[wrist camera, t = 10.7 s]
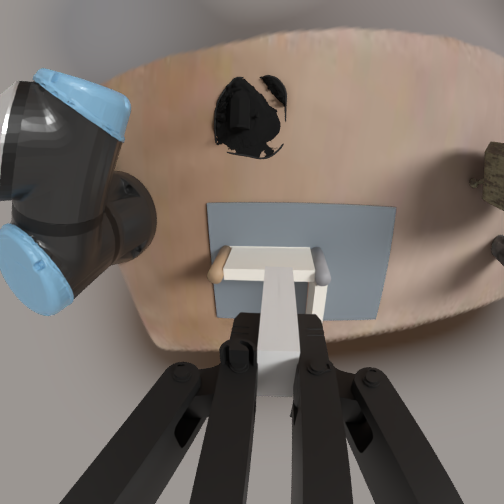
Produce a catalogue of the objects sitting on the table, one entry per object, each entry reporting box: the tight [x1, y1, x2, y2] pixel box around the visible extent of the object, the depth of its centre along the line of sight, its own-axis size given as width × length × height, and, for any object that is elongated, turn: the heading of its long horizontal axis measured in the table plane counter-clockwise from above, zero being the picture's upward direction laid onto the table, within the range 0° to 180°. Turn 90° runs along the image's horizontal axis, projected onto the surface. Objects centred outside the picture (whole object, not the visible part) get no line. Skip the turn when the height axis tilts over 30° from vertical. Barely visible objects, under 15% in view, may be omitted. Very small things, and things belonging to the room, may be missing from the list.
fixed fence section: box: [207, 245, 331, 286], centre depth 38 cm, size 16×2×9 cm, turn 91°
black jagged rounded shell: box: [214, 75, 287, 159], centre depth 33 cm, size 12×10×5 cm
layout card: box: [207, 202, 396, 320], centre depth 42 cm, size 28×20×1 cm
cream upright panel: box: [306, 279, 328, 321], centre depth 40 cm, size 11×2×7 cm, turn 1°
